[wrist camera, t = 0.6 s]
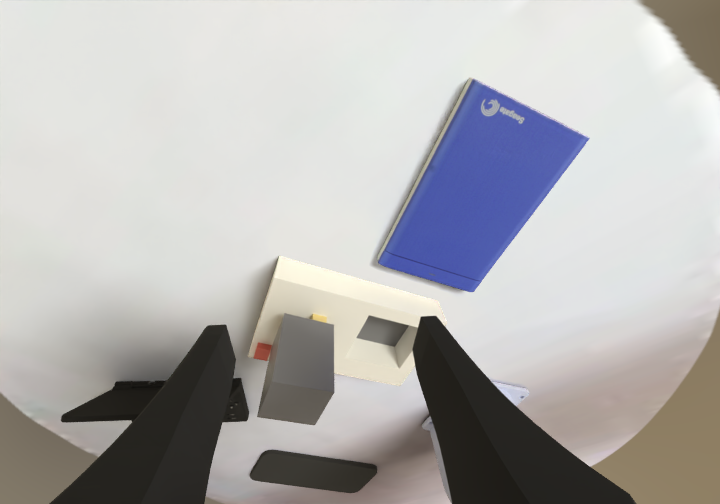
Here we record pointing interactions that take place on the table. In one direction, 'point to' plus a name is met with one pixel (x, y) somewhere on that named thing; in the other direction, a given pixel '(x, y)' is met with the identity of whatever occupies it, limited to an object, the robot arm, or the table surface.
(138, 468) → the robot arm
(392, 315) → the socket plate
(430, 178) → the hard drive
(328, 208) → the table surface
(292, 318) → the plug
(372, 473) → the phone
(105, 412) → the handheld gaming console
